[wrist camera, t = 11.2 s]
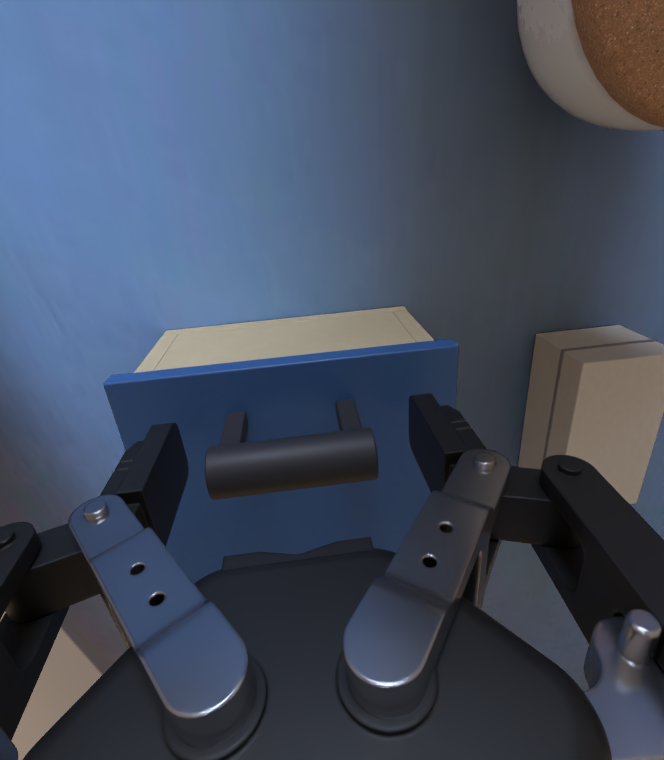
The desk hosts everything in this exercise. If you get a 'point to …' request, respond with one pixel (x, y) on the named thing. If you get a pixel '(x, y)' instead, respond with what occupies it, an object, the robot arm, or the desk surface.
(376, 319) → the storage box
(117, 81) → the desk surface
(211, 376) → the blue lid
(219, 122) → the desk surface
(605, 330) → the beige case
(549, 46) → the white bowl with lid
